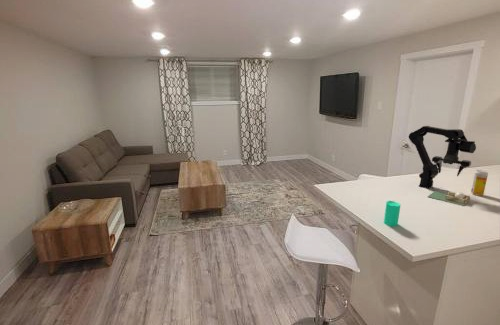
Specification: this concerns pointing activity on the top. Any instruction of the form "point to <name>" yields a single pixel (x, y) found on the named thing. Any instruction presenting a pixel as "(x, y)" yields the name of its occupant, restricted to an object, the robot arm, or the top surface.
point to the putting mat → (443, 197)
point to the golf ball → (459, 195)
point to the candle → (392, 213)
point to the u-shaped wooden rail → (452, 198)
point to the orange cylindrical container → (479, 182)
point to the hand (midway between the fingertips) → (448, 174)
